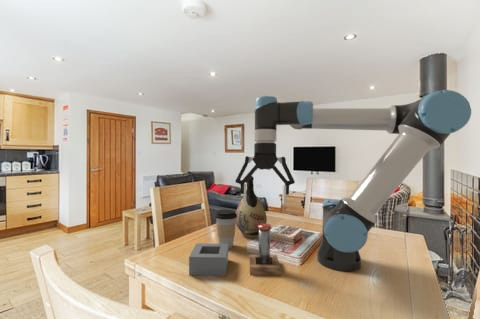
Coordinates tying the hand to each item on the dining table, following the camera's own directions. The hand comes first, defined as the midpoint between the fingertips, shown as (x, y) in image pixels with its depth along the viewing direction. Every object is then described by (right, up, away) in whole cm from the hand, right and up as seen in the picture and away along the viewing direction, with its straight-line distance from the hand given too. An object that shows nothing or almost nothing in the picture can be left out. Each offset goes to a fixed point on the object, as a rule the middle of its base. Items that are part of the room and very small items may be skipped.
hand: (264, 203), depth 86 cm
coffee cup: (-15, -22, +20) cm, 33 cm away
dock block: (-19, -22, +1) cm, 29 cm away
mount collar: (0, -23, +1) cm, 23 cm away
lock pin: (0, -23, +1) cm, 23 cm away
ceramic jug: (-3, -22, +35) cm, 41 cm away
